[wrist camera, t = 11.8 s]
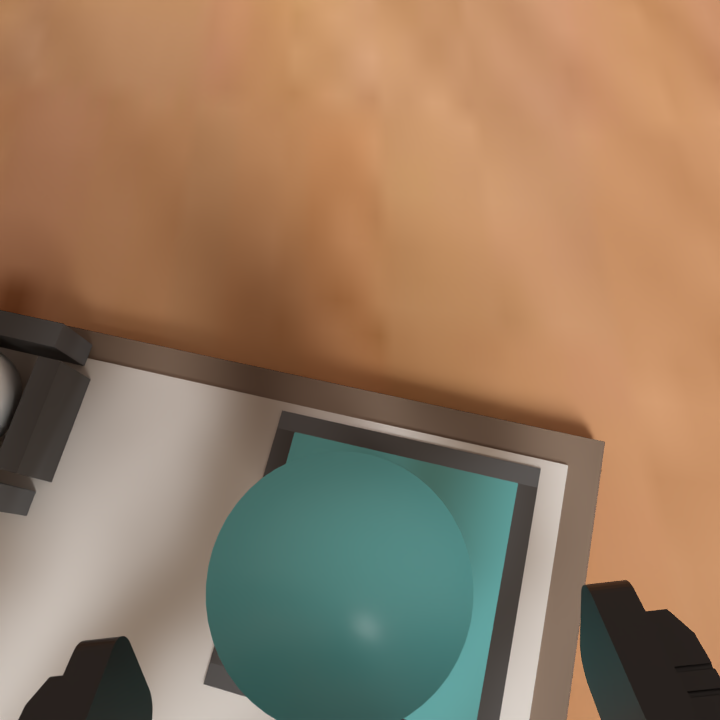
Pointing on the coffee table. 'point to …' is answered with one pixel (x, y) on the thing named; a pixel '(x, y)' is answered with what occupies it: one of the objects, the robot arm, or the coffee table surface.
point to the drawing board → (228, 485)
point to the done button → (8, 392)
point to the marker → (339, 590)
